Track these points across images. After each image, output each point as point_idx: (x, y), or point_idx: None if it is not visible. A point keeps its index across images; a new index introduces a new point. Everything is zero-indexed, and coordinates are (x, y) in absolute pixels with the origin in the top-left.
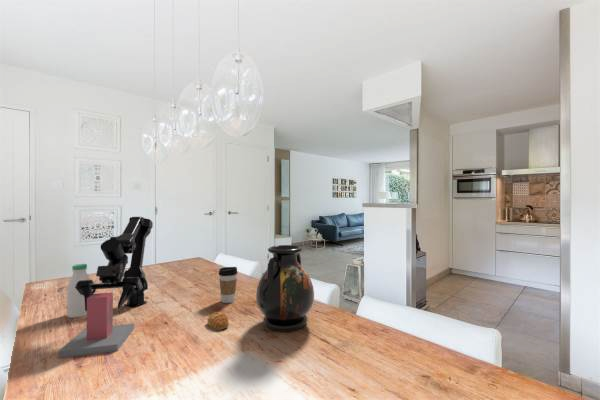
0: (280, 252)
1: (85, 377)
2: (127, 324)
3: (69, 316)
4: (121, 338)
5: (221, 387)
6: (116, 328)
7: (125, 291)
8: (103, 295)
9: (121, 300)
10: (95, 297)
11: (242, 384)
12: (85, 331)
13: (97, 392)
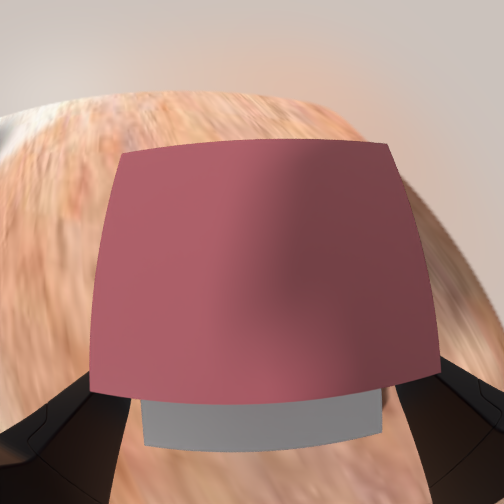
0: None
1: (200, 126)
2: (173, 444)
3: None
4: None
5: (20, 119)
6: (210, 408)
7: (11, 443)
8: (192, 225)
9: (78, 384)
10: (283, 147)
11: (5, 126)
12: (362, 397)
13: (159, 94)
